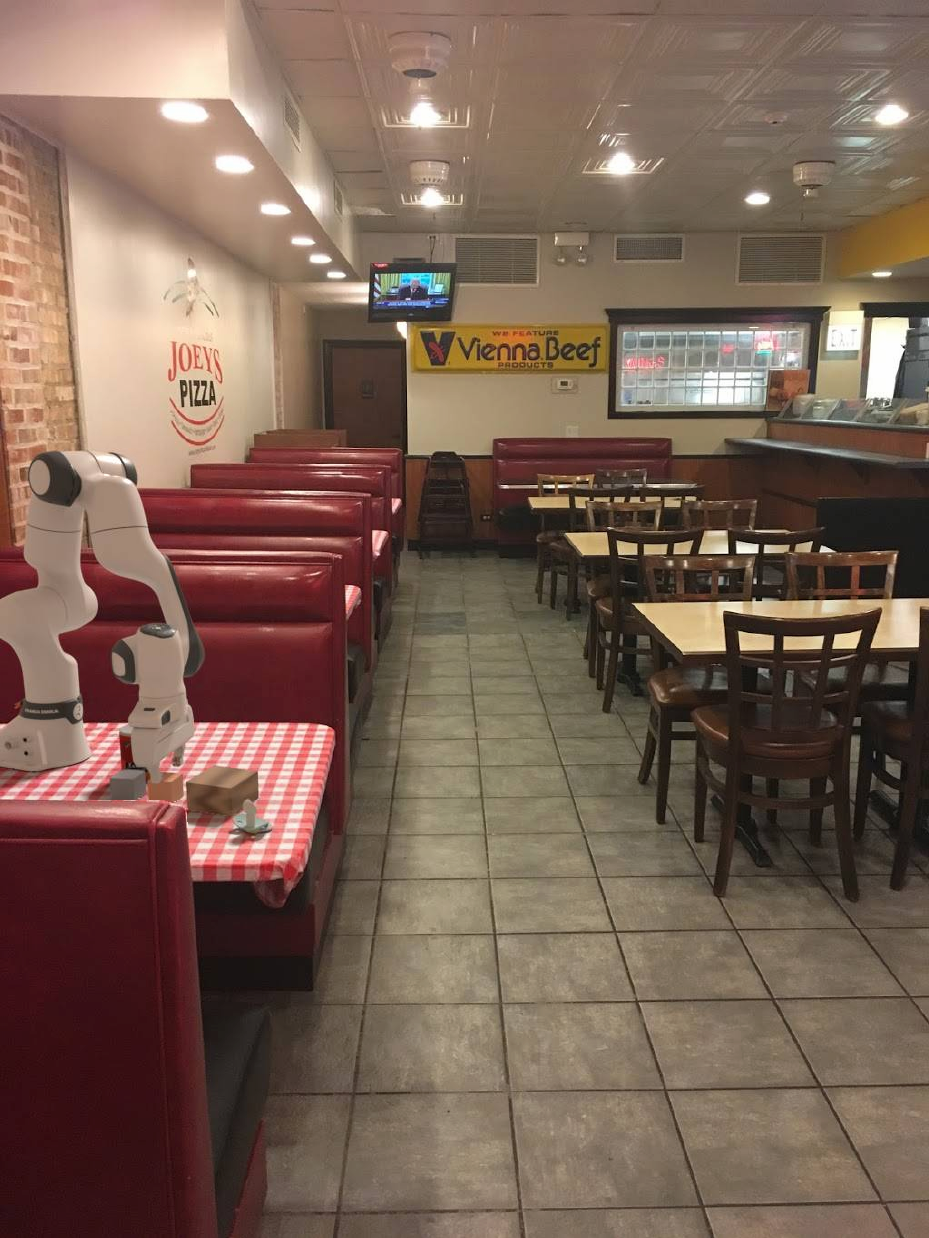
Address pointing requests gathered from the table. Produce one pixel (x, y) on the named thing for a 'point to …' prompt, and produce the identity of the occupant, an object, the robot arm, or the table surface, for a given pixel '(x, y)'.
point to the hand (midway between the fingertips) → (167, 773)
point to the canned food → (128, 751)
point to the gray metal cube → (128, 785)
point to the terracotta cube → (167, 788)
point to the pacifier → (251, 819)
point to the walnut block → (222, 790)
